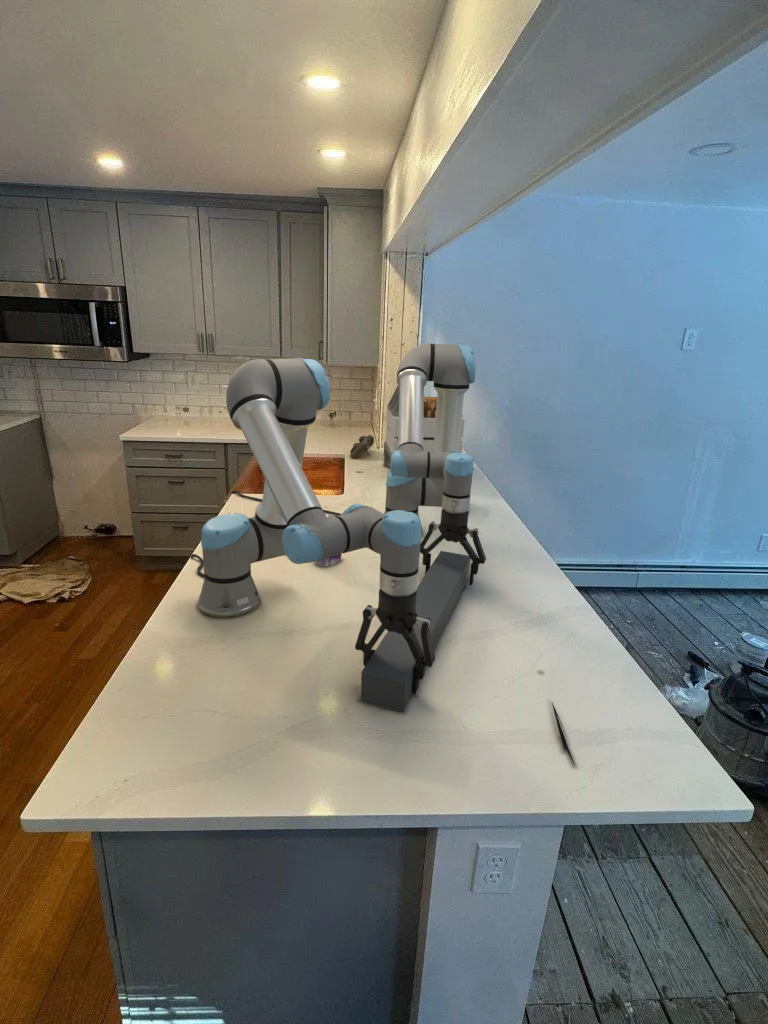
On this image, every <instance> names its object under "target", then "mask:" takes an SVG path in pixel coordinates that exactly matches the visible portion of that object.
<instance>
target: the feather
mask: <svg viewBox="0 0 768 1024" xmlns="http://www.w3.org/2000/svg"><path fill="white" fill-rule="evenodd" d="M540 673H542V670H540ZM551 705H552V709H553V713H554V716H555V721H556V725H557V728H558V732H559V737H560V740H561V742H562V745H563V750H564V751H566V752H567V754H568V755H569V757H570V760H571V762H572V764H573V765H574V764H575V762H574V760H573V759H574V758H573V757H572V754H573V755H574V752H572V753H571V751H570V748H571V750H573V748H574V747H572V746H571V747H570V748H569V745H568V743H570V740H569V738H568V734H567V731H566V730H565V727H564V725H563V723H562V721H561V718H560V716H559V714H558V712H557V710H556V707H555V704H554V703H553V702H551ZM565 736H566V737H565ZM567 742H568V743H567Z"/></svg>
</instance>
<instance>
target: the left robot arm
mask: <svg viewBox="0 0 768 1024" xmlns="http://www.w3.org/2000/svg"><path fill="white" fill-rule="evenodd" d="M329 382H330V381H329V378H328V375H327V373H326V371H325V369H324V367H323V366H322V364H321V363H320V362H319V361H317V360H316V359H312V358H302V357H296V358H267V359H264V358H256V359H252V360H248V361H246V362H244V363H243V364H241V365H240V366H239V367H237V368H236V370H235V371H234V372H233V374H232V375H231V377H230V379H229V382H228V384H227V387H226V393H225V401H226V402H225V404H226V410H227V413H228V415H229V418H230V420H231V422H232V424H233V426H234V427H235V428H236V429H238V430H239V431H241V432H242V433H243V436H244V438H245V440H246V442H247V444H248V446H249V448H250V450H251V453H252V455H253V457H254V459H255V461H256V463H257V465H258V467H259V469H260V472H261V473H262V476H263V477H264V484H263V494H262V499H263V501H260V502H259V503H258V504H257V505H256V507H255V511H254V516H251V517H248V516H246V515H245V514H244V513H243V514H242V513H238V512H236V513H225V514H220V515H217V516H215V517H212V518H210V519H209V520H208V521H206V522H205V523H204V525H203V526H202V528H201V540H200V545H201V551H202V557H201V556H200V555H198V554H196V553H193V554H191V555H190V558H196V559H198V560H199V561H200V565H198V567H197V569H196V572H197V574H198V575H199V576H202V577H203V582H202V586H201V591H200V594H199V596H198V608H199V610H200V611H201V612H202V613H203V614H205V615H207V616H210V617H214V618H235V617H239V616H242V615H246V614H248V613H250V612H252V611H253V610H254V609H257V607H258V605H259V604H260V594H259V590H258V588H257V586H256V583H255V581H254V578H253V576H252V567H251V565H252V564H255V563H259V562H263V561H266V560H270V559H275V558H279V557H283V556H284V557H285V556H286V558H287V560H289V561H290V562H291V563H293V564H294V565H295V564H296V565H302V564H303V565H304V564H308V563H316V561H318V560H320V559H324V558H327V557H331V556H334V555H338V554H341V555H342V554H347V553H351V552H355V551H358V550H362V549H369V550H371V551H372V552H374V553H376V554H379V555H380V563H379V584H378V585H379V589H378V604H377V605H378V606H377V607H373V606H372V605H371V604H367V605H366V607H364V609H363V611H362V623H361V626H360V629H359V632H358V635H357V639H356V641H355V645H354V649H355V650H357V651H361V652H362V654H363V663H362V664H363V667H365V666H366V664H367V662H368V661H369V659H370V658H371V656H372V655H373V653H374V652H375V650H376V649H373V648H374V647H375V645H376V643H377V642H378V641H379V639H380V638H381V636H382V635H383V633H384V632H385V631H386V632H388V631H389V632H396V633H398V634H402V635H403V637H404V639H406V641H407V643H408V646H409V648H410V650H411V652H412V655H413V657H414V659H415V661H416V664H415V665H414V670H413V683H412V695H413V696H414V695H415V696H416V695H417V693H418V690H419V688H420V681H423V680H424V677H425V674H426V667H428V668H432V666H433V664H434V662H435V661H436V656H435V649H434V650H433V644H432V638H431V633H430V624H431V619H430V618H429V617H427V618H426V619H423V618H420V617H418V615H417V613H416V601H417V591H416V590H417V588H418V585H419V570H420V569H419V568H420V556H421V553H420V545H421V542H422V540H423V539H422V538H423V534H422V535H421V525H422V520H421V518H420V515H419V516H418V515H416V514H415V513H412V512H406V511H402V510H396V511H390V512H387V513H386V514H384V512H381V511H379V510H377V509H375V508H374V507H372V506H368V505H364V504H362V503H354V504H351V505H350V506H349V507H347V508H346V509H345V510H343V512H342V513H341V514H342V515H333V516H332V517H328V516H327V515H326V513H325V512H323V510H324V509H323V508H322V505H321V504H320V502H319V499H318V497H317V496H316V493H315V492H314V490H313V488H312V486H311V484H310V482H309V480H308V478H307V475H306V474H305V472H304V469H303V461H304V454H305V448H306V442H307V435H308V428H309V426H312V425H313V424H314V423H315V422H316V419H317V412H318V411H321V410H323V409H325V408H326V407H327V406H328V405H329V402H330V398H331V386H330V383H329ZM327 517H328V518H327ZM202 567H203V572H201V568H202ZM374 617H377V619H378V620H379V622H380V623H381V624H380V625H379V627H378V628H377V630H376V632H375V633H374V634H373V635H372V637H371V639H370V640H369V641H368V643H366V642H365V641H366V639H367V636H368V633H369V631H370V630H369V629H370V628H371V623H372V620H373V619H374ZM415 623H417V624H418V627H419V630H421V639H422V644H423V650H424V653H423V650H422V648H421V646H420V644H419V641H418V639H417V637H416V635H415V632H414V627H413V625H414V624H415ZM425 666H426V667H425Z"/></svg>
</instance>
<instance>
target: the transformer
mask: <svg viewBox="0 0 768 1024" xmlns="http://www.w3.org/2000/svg"><path fill="white" fill-rule="evenodd" d="M399 394H400V386H399V385H398V384H397V386H396V388H395V390H394V392H393V394H392V395H391V398H390V400H389V402H388V404H387V405H386V413H385V414H386V415H385V423H386V428H385V438H384V442H383V466H384V467H388V468H389V472H390V471H391V453H392V451H397V450H398V427H399ZM436 408H437V396H424V434H423V452H433V449H434V435H435V421H436ZM464 429H465V419H464V418H462V421H461V432H460V443H459V452H460V453H463V442H464V441H463V440H462V439H463V438H464V431H465V430H464Z"/></svg>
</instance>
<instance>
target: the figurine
mask: <svg viewBox="0 0 768 1024" xmlns="http://www.w3.org/2000/svg"><path fill="white" fill-rule="evenodd" d="M332 516H334V514H330V513H329V515H328V516H326V517H327V518H328V517H332ZM341 559H342V554H338V555H334V556H331V557H327V558H324V559H320V560H318V561H316V562H315V565H316V566H319V567H320V566H321V567H328V566H334V565H336V564H338V563H340V562H341Z"/></svg>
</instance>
